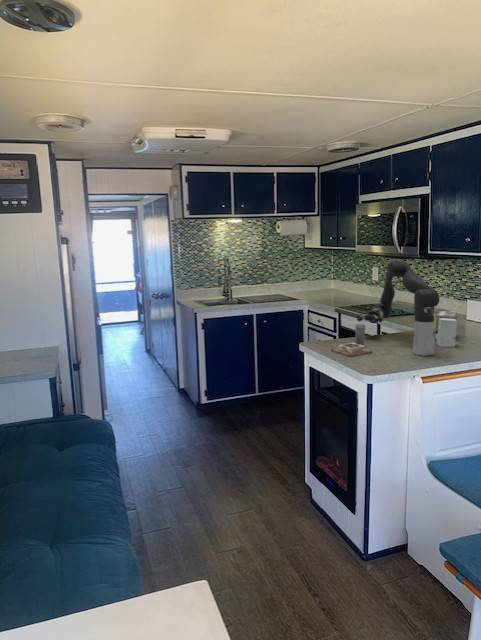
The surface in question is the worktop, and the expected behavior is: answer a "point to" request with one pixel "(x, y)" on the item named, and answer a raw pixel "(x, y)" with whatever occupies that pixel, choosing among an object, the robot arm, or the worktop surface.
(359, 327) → the dark grey cylinder
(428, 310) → the coffee box
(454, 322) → the skincare box
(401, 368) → the worktop surface
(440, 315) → the tea box
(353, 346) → the mount board
